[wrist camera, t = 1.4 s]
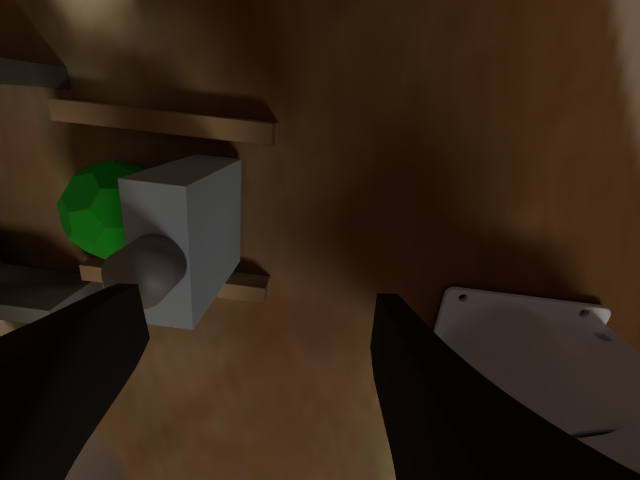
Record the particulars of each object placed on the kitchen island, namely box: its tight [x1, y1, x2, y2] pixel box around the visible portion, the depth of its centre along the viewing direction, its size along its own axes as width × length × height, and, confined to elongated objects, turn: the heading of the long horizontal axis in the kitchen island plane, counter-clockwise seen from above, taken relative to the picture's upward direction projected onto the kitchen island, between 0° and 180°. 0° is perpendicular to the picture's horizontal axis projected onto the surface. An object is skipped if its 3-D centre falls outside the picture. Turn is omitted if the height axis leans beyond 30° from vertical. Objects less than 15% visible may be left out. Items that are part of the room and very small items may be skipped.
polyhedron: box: [57, 160, 146, 259], centre depth 17 cm, size 5×5×5 cm
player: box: [101, 154, 241, 330], centre depth 15 cm, size 2×6×8 cm, turn 174°
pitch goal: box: [0, 58, 279, 324], centre depth 17 cm, size 18×13×4 cm
